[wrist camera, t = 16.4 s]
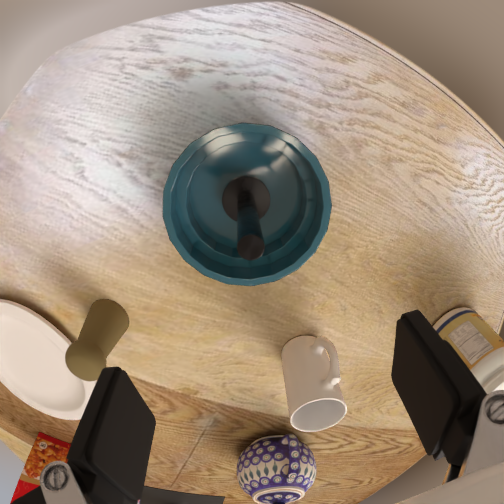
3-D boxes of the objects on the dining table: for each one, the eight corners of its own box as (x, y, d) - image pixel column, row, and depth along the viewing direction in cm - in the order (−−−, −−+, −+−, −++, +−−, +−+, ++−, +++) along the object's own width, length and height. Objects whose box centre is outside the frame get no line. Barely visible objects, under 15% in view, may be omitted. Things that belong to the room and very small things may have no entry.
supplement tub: (478, 334, 45) (526, 393, 29) (427, 371, 47) (467, 439, 32) (470, 290, 41) (533, 352, 25) (412, 333, 43) (463, 410, 27)
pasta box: (142, 464, 56) (126, 564, 31) (144, 476, 59) (130, 567, 34) (39, 431, 53) (5, 516, 27) (47, 446, 56) (19, 526, 30)
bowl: (159, 143, 31) (143, 148, 26) (303, 112, 30) (316, 110, 25) (195, 272, 37) (189, 298, 32) (324, 245, 36) (338, 268, 31)
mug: (313, 371, 45) (330, 433, 33) (272, 364, 44) (281, 429, 32) (342, 319, 41) (371, 380, 30) (298, 309, 40) (317, 374, 29)
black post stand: (217, 180, 32) (203, 220, 19) (264, 170, 32) (282, 203, 19) (228, 224, 34) (222, 288, 21) (273, 215, 34) (294, 274, 21)
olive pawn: (137, 327, 40) (114, 383, 30) (106, 339, 41) (81, 392, 31) (112, 292, 38) (80, 345, 28) (82, 307, 39) (48, 357, 29)
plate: (101, 326, 40) (96, 336, 38) (105, 427, 50) (102, 436, 48) (-31, 273, 36) (-39, 279, 34) (-3, 380, 46) (-8, 387, 44)
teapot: (250, 408, 48) (254, 484, 34) (331, 412, 49) (350, 480, 36) (226, 469, 57) (226, 525, 43) (290, 472, 59) (297, 524, 45)
